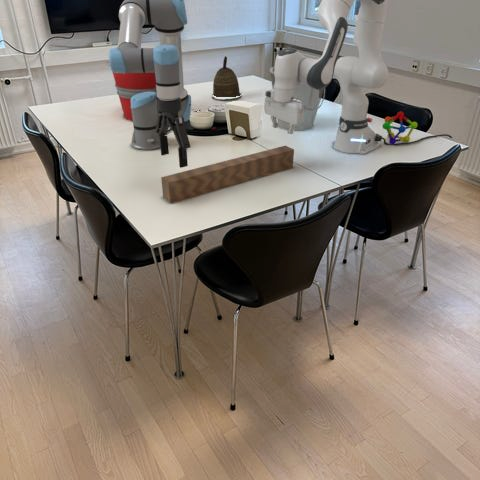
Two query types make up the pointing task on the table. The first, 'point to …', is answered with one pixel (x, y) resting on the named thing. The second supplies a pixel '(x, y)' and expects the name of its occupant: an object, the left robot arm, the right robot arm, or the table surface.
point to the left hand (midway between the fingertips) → (174, 160)
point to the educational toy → (398, 128)
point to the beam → (226, 173)
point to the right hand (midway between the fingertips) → (282, 130)
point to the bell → (225, 82)
